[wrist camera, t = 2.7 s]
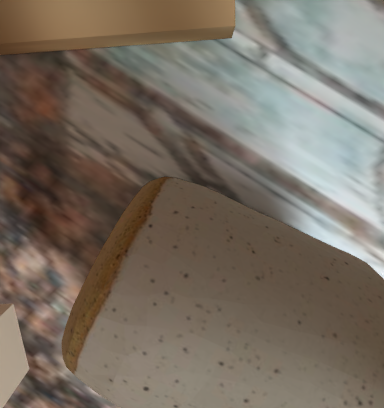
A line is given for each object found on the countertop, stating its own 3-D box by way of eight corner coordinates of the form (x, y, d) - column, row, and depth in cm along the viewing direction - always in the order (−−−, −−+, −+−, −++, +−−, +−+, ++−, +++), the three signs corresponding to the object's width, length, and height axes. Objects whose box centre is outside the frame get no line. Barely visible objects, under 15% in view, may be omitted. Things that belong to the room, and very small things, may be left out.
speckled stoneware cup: (164, 149, 13) (102, 195, 5) (334, 229, 13) (491, 369, 6) (84, 337, 16) (-28, 535, 8) (226, 396, 16) (241, 630, 9)
